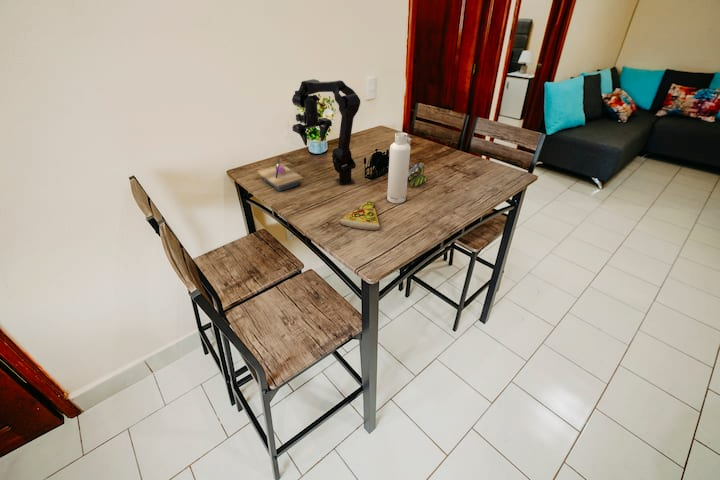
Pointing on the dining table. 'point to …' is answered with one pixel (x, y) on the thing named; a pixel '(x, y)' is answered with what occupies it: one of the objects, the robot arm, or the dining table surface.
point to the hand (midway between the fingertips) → (314, 143)
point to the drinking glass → (408, 140)
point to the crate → (283, 186)
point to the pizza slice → (362, 218)
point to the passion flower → (418, 177)
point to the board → (279, 176)
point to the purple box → (279, 168)
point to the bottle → (398, 169)
